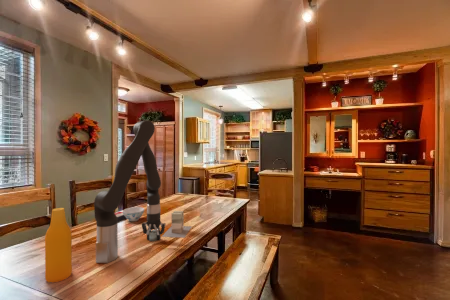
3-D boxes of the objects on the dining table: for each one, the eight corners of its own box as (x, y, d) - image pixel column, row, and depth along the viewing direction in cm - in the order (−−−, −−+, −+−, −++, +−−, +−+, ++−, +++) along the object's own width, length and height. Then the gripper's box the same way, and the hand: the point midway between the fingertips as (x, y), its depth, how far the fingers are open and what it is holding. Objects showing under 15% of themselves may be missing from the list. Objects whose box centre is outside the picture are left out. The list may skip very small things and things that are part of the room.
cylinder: (156, 243, 130) (156, 233, 130) (147, 243, 131) (147, 233, 131) (159, 240, 135) (159, 230, 135) (151, 239, 136) (151, 229, 136)
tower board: (184, 240, 136) (184, 237, 136) (161, 239, 137) (161, 236, 137) (191, 228, 155) (191, 226, 155) (171, 227, 156) (171, 225, 156)
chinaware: (120, 219, 174) (120, 209, 174) (140, 215, 183) (140, 206, 183) (126, 224, 162) (126, 213, 162) (147, 220, 172) (147, 210, 172)
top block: (180, 223, 143) (180, 214, 143) (171, 223, 143) (171, 213, 143) (183, 220, 149) (183, 211, 149) (174, 220, 149) (174, 211, 149)
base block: (180, 233, 143) (180, 223, 143) (171, 232, 143) (171, 223, 143) (183, 229, 149) (183, 220, 149) (174, 229, 149) (174, 220, 149)
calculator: (130, 212, 181) (115, 217, 167) (130, 217, 181) (115, 223, 166) (119, 211, 184) (103, 215, 170) (119, 216, 184) (103, 221, 170)
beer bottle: (54, 285, 92) (53, 213, 91) (40, 280, 95) (39, 210, 95) (77, 273, 100) (76, 207, 100) (62, 269, 104) (62, 205, 103)
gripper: (138, 213, 130) (138, 242, 130) (163, 213, 128) (163, 244, 129) (144, 209, 137) (144, 237, 137) (167, 210, 136) (167, 238, 136)
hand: (153, 240), depth 133 cm, fingers closed on cylinder, 5 cm apart
